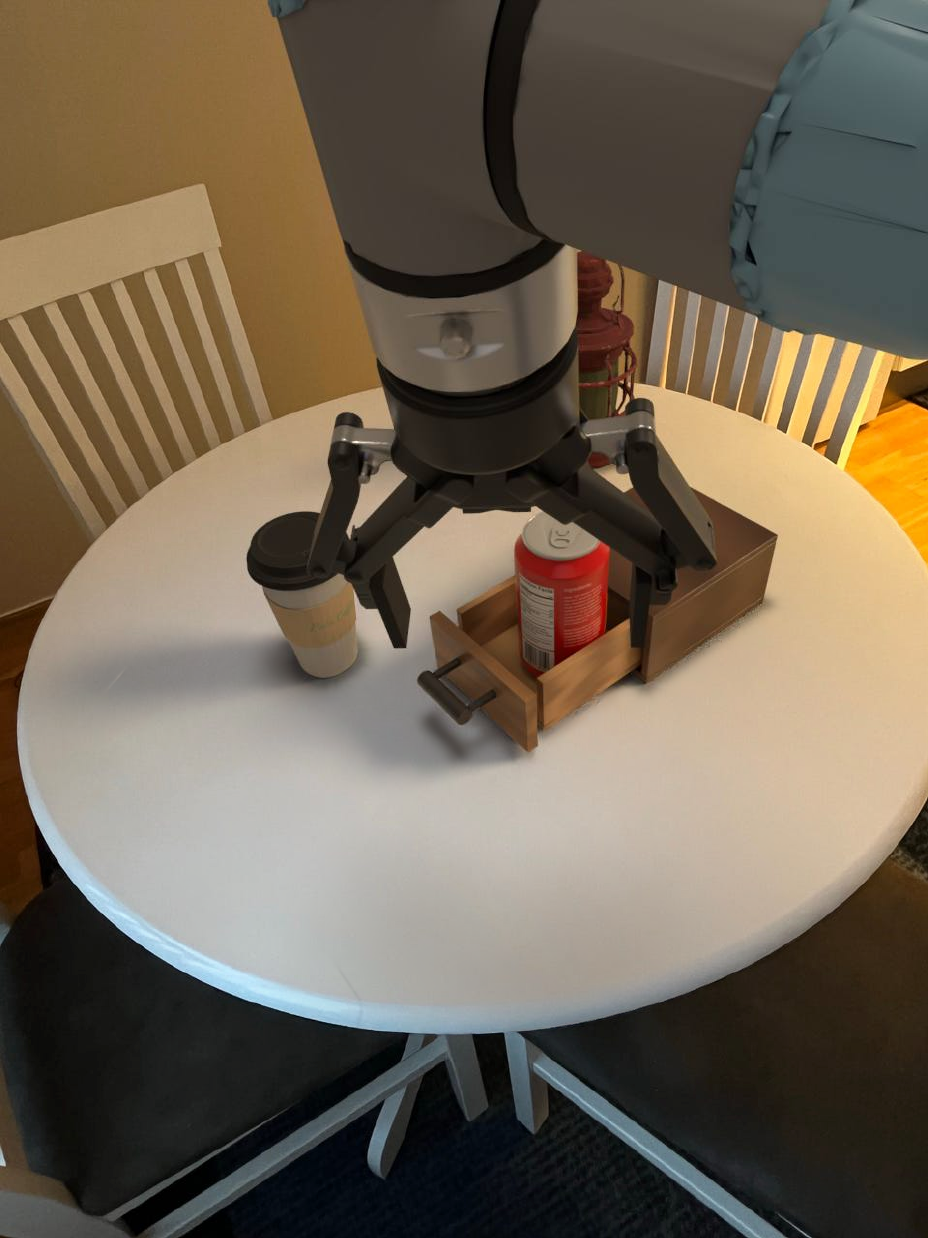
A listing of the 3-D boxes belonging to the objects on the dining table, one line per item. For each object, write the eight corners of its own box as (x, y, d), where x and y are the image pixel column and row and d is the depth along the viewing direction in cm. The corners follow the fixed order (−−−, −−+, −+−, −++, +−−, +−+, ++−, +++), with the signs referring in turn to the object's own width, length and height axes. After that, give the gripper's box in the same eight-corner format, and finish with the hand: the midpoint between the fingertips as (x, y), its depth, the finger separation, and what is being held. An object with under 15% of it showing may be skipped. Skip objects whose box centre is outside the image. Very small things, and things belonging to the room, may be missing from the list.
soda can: (515, 687, 75) (508, 561, 65) (523, 627, 81) (517, 501, 71) (603, 692, 74) (609, 564, 64) (605, 630, 80) (611, 503, 69)
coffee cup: (351, 699, 79) (319, 581, 68) (264, 681, 81) (220, 564, 71) (389, 631, 85) (365, 513, 75) (307, 616, 88) (273, 499, 77)
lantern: (642, 427, 108) (660, 178, 88) (619, 480, 100) (633, 219, 80) (552, 416, 112) (549, 174, 91) (523, 465, 104) (513, 213, 84)
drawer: (488, 780, 70) (483, 730, 65) (399, 689, 78) (389, 639, 73) (654, 665, 77) (660, 612, 73) (558, 593, 86) (558, 541, 81)
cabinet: (646, 684, 77) (653, 617, 71) (542, 604, 86) (540, 539, 80) (763, 602, 84) (778, 534, 78) (655, 535, 92) (661, 470, 86)
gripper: (126, 422, 30) (299, 685, 48) (854, 388, 27) (747, 686, 45) (177, 287, 34) (320, 577, 52) (818, 241, 30) (733, 570, 48)
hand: (517, 628), depth 48 cm, fingers open, 13 cm apart
